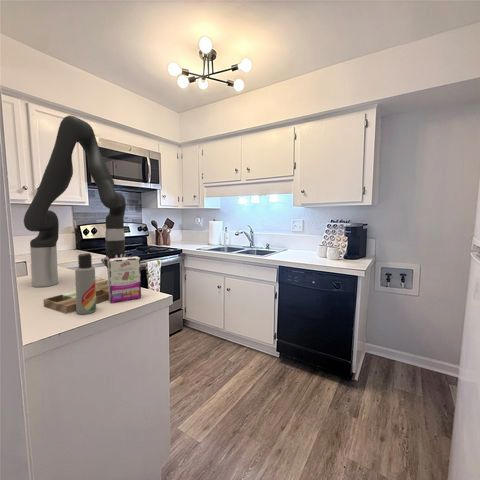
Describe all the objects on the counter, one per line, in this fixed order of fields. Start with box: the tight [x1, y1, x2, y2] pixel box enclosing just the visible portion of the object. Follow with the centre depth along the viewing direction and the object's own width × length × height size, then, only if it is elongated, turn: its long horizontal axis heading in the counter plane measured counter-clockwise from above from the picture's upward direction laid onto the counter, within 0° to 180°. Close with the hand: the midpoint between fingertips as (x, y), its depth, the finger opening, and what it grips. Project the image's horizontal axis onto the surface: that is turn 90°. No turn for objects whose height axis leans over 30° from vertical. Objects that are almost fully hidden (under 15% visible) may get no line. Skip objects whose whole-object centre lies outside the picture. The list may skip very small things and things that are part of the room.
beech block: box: [95, 277, 108, 290], centre depth 105 cm, size 5×5×3 cm
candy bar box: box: [107, 256, 142, 304], centre depth 99 cm, size 11×5×16 cm, turn 126°
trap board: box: [43, 287, 109, 314], centre depth 97 cm, size 13×22×2 cm, turn 155°
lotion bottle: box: [74, 252, 97, 315], centre depth 86 cm, size 6×6×20 cm
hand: (116, 277), depth 112 cm, fingers closed
